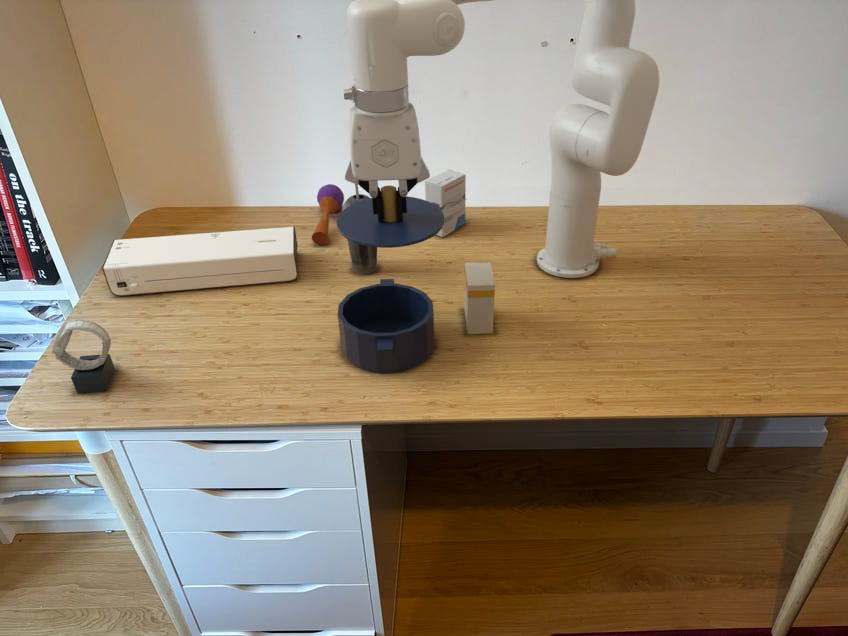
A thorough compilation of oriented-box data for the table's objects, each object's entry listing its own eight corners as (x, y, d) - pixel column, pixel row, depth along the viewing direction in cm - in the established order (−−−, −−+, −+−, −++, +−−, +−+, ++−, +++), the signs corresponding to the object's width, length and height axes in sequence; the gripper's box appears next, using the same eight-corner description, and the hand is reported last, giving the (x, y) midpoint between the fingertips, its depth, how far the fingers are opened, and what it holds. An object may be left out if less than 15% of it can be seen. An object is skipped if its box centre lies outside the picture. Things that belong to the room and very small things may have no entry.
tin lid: (441, 200, 119) (440, 165, 115) (447, 249, 106) (446, 211, 102) (340, 203, 118) (336, 168, 114) (333, 253, 104) (328, 215, 101)
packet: (488, 309, 131) (490, 262, 125) (493, 333, 125) (495, 284, 119) (464, 310, 131) (464, 263, 125) (467, 334, 125) (467, 285, 119)
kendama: (301, 228, 147) (315, 181, 162) (310, 252, 151) (323, 204, 166) (329, 224, 146) (341, 177, 161) (338, 248, 150) (348, 200, 165)
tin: (431, 309, 131) (431, 274, 127) (436, 381, 115) (435, 343, 110) (346, 312, 130) (342, 276, 125) (338, 385, 113) (333, 347, 109)
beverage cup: (386, 261, 145) (380, 166, 133) (379, 279, 139) (371, 182, 127) (351, 258, 145) (342, 164, 133) (342, 276, 140) (331, 180, 128)
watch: (73, 372, 115) (49, 315, 108) (126, 368, 116) (106, 311, 109) (63, 394, 110) (38, 337, 103) (118, 390, 111) (97, 332, 105)
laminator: (298, 253, 147) (294, 225, 143) (299, 283, 137) (294, 255, 133) (122, 267, 141) (113, 239, 137) (110, 300, 131) (100, 271, 128)
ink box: (448, 217, 161) (448, 167, 154) (466, 223, 159) (466, 173, 152) (424, 231, 155) (423, 180, 148) (442, 238, 153) (442, 186, 146)
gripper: (321, 107, 96) (336, 230, 107) (440, 105, 97) (443, 226, 109) (325, 90, 102) (339, 208, 113) (438, 87, 103) (441, 205, 115)
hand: (390, 216), depth 111 cm, fingers closed on tin lid, 2 cm apart
